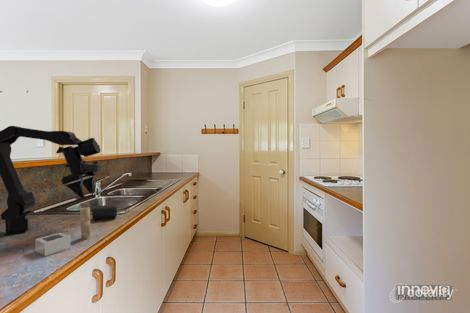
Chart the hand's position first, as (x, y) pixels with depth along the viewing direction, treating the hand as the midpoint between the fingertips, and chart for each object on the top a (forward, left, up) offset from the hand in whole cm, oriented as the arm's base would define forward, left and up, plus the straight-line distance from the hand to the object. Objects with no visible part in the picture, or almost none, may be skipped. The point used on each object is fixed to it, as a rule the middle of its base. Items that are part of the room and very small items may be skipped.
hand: (87, 195), depth 102 cm
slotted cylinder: (+1, -13, -14) cm, 19 cm away
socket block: (-8, -21, -14) cm, 26 cm away
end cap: (+6, +11, -14) cm, 19 cm away
